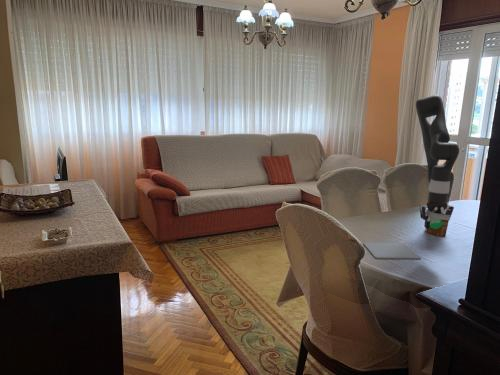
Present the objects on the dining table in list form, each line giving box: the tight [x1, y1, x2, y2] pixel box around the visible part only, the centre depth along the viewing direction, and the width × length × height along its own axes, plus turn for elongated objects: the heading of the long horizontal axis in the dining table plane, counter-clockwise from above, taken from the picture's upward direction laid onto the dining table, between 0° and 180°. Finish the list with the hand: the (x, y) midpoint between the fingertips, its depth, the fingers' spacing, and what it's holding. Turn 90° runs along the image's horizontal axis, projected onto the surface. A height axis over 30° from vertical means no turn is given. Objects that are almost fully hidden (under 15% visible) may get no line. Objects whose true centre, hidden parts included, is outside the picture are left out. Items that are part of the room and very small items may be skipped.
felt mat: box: [362, 242, 422, 260], centre depth 170 cm, size 20×17×1 cm
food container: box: [425, 208, 451, 238], centre depth 157 cm, size 12×6×10 cm, turn 5°
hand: (433, 228), depth 158 cm, fingers closed on food container, 5 cm apart
